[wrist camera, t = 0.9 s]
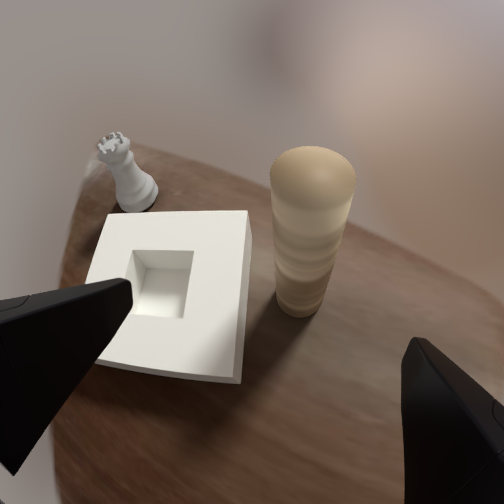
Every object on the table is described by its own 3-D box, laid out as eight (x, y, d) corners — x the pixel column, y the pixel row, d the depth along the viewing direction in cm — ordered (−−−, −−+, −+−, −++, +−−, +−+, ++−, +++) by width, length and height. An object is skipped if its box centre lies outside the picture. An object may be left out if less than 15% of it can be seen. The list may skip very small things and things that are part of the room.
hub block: (240, 384, 20) (232, 377, 17) (96, 363, 22) (68, 352, 18) (252, 239, 26) (247, 210, 23) (126, 239, 28) (108, 214, 24)
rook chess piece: (116, 218, 29) (80, 163, 22) (125, 185, 32) (96, 131, 25) (156, 213, 29) (125, 153, 22) (162, 179, 31) (138, 121, 24)
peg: (323, 317, 22) (362, 209, 11) (275, 317, 23) (268, 207, 12) (322, 274, 24) (349, 147, 13) (276, 274, 25) (271, 145, 13)
